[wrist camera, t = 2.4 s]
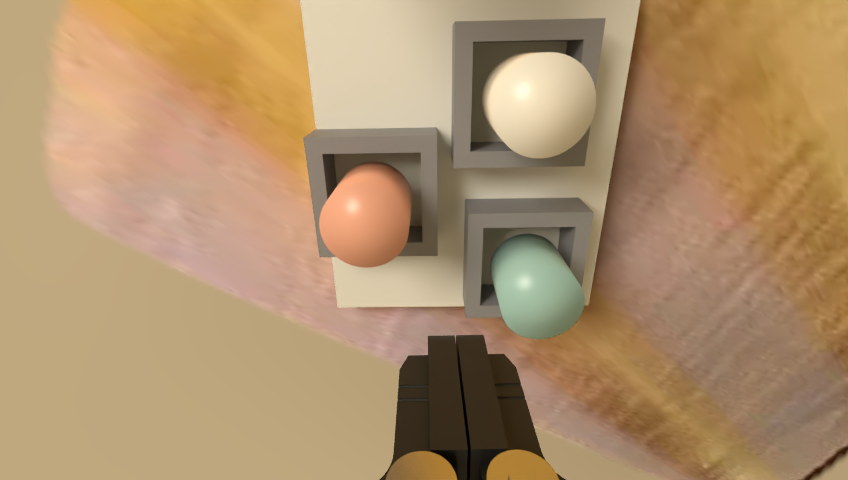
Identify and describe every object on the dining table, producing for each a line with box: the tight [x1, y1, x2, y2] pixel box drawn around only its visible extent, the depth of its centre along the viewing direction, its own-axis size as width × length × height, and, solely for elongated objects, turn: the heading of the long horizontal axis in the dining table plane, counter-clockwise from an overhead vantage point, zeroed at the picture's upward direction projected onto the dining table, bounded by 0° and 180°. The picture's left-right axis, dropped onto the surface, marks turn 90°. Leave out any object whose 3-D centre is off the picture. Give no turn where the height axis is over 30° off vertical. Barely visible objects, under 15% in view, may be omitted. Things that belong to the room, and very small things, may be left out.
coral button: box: [319, 162, 412, 268], centre depth 24 cm, size 5×5×5 cm
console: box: [300, 0, 640, 318], centre depth 28 cm, size 20×22×5 cm
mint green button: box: [490, 233, 585, 339], centre depth 26 cm, size 5×5×5 cm
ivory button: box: [481, 52, 596, 159], centre depth 22 cm, size 5×5×5 cm
